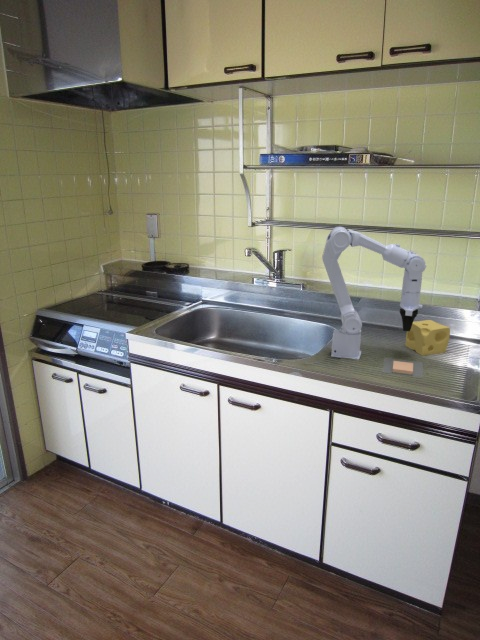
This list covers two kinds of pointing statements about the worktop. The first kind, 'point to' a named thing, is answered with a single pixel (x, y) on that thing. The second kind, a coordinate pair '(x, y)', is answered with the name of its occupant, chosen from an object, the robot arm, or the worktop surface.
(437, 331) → the cheese
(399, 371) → the tile
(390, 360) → the mat
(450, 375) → the worktop surface
